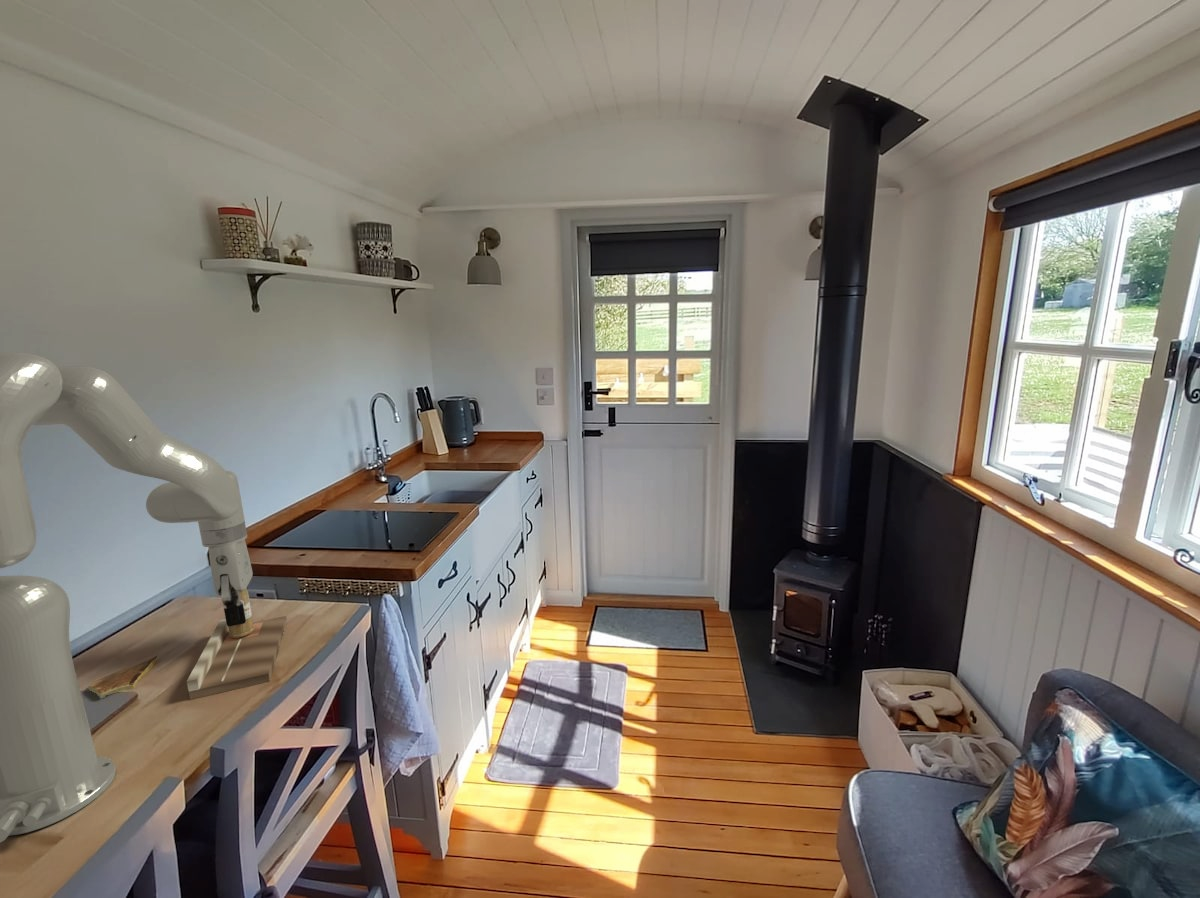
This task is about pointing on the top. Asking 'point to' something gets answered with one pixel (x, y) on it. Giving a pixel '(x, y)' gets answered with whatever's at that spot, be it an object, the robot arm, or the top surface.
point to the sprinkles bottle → (248, 625)
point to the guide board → (236, 658)
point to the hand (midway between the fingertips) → (239, 618)
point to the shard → (122, 678)
